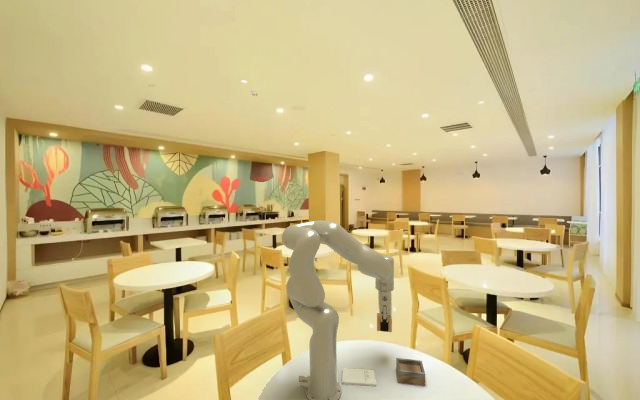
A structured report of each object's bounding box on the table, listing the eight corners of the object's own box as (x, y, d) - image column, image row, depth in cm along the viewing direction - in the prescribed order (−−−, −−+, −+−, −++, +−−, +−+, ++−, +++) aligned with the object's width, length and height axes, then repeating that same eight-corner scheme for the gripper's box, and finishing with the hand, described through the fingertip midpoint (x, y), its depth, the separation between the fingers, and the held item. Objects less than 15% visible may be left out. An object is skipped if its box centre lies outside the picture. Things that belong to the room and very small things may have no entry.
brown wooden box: (397, 382, 101) (397, 370, 101) (396, 368, 109) (396, 357, 109) (425, 386, 99) (425, 374, 99) (421, 371, 107) (421, 360, 107)
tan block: (376, 330, 114) (377, 317, 113) (376, 325, 118) (377, 313, 118) (391, 332, 112) (391, 319, 112) (391, 327, 117) (391, 314, 117)
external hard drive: (342, 371, 109) (374, 373, 108) (342, 386, 101) (376, 387, 100) (342, 367, 109) (374, 369, 108) (342, 381, 101) (376, 383, 99)
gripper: (395, 292, 106) (394, 339, 106) (392, 279, 122) (392, 320, 123) (375, 291, 107) (375, 337, 108) (375, 278, 124) (375, 318, 124)
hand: (384, 327), depth 115 cm, fingers closed on tan block, 4 cm apart
